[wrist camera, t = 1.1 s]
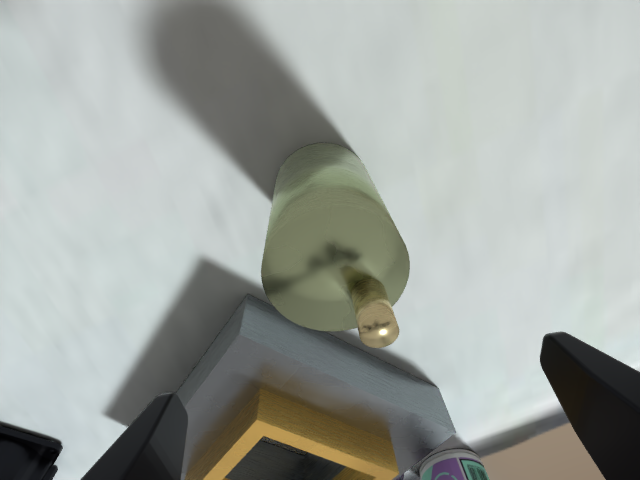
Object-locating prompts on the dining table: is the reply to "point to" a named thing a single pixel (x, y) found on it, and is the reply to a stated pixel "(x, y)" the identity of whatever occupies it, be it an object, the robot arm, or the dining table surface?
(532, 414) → the dining table surface
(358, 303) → the spout can
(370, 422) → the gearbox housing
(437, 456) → the spray can
